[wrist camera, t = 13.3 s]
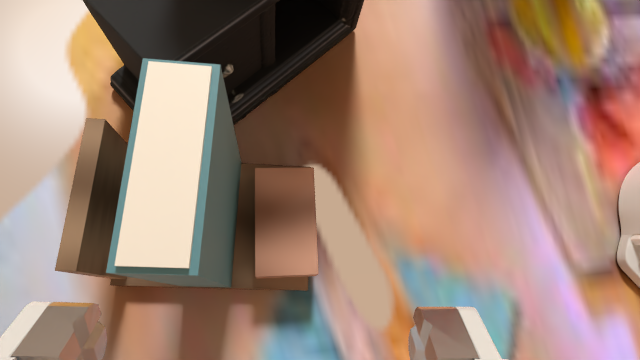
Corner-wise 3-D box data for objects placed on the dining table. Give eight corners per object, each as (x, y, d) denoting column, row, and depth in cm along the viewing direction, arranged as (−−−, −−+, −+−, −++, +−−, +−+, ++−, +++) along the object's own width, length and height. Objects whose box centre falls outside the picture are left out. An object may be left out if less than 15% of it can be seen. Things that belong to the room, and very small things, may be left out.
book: (231, 287, 34) (197, 275, 18) (181, 286, 33) (103, 272, 18) (241, 162, 37) (219, 61, 21) (196, 160, 36) (141, 55, 21)
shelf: (313, 290, 36) (329, 286, 26) (115, 285, 34) (53, 279, 24) (316, 171, 39) (331, 127, 29) (135, 161, 37) (87, 111, 27)
